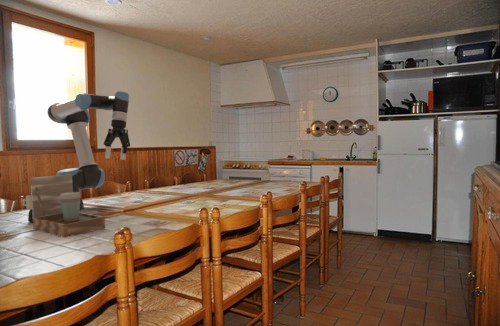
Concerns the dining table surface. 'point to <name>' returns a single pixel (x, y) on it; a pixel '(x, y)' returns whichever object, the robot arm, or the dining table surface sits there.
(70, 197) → the coffee cup
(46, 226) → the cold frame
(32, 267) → the dining table surface
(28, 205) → the character mug
